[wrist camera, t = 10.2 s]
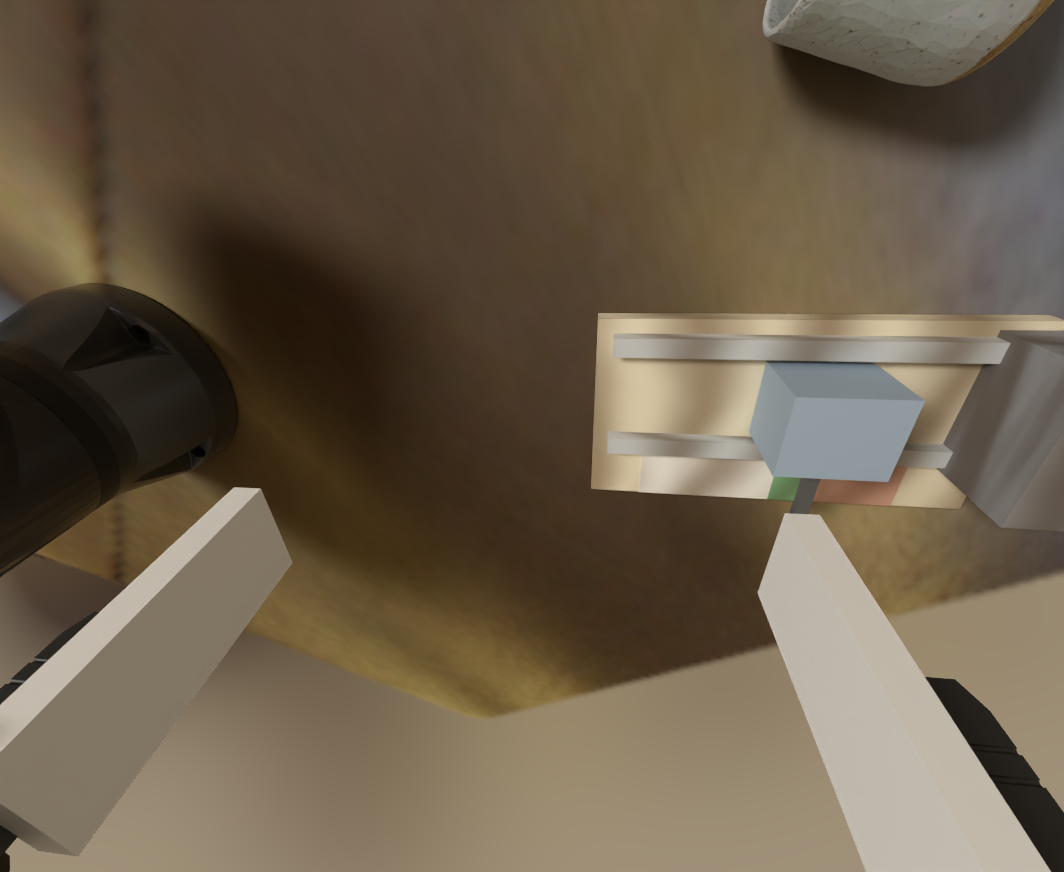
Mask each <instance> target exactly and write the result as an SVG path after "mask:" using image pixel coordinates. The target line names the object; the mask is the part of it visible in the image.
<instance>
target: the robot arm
mask: <svg viewBox="0 0 1064 872" xmlns="http://www.w3.org/2000/svg"><path fill="white" fill-rule="evenodd" d="M236 422H237V408H236V402H235V397H234V394H233V390H232V388H231V385H230V382H229V380H228V378H227V376H226V374H225V372H224V370H223V368H222V367H221V365H220V363H219V362H218V360H217V359H216V357H215V356H214V354H213V353H212V352H211V350H210V349H209V348H208V347H207V345H206V344H205V343H204V342H203V341H202V340H201V338H200V337H199V336H198V335H197V334H196V333H195V332H194V331H193V330H192V329H191V328H190V327H189V326H187V325H186V324H185V323H184V322H183V321H182V320H180V319H179V318H178V317H177V316H175V315H174V314H173V313H171V312H170V311H169V310H167V309H166V308H164V307H163V306H161V305H159V304H158V303H156V302H155V301H153V300H151V299H149V298H147V297H145V296H143V295H141V294H139V293H136V292H134V291H131V290H128V289H125V288H122V287H118V286H114V285H109V284H101V283H88V284H81V285H77V286H72V287H68V288H64V289H60V290H56V291H52V292H48V293H46V294H43V295H41V296H39V297H37V298H35V299H33V300H32V301H30V302H29V303H27V304H26V305H25V306H23V307H22V308H20V309H19V310H18V311H16V312H15V313H13V314H12V315H10V316H9V317H8V318H6V319H5V320H3V321H2V322H0V577H2V576H3V575H4V574H6V573H7V572H9V571H10V570H11V569H13V568H14V567H16V566H17V565H18V564H20V563H21V562H23V561H24V560H25V559H27V558H28V557H30V556H31V555H33V554H34V553H35V552H37V551H38V550H40V549H41V548H42V547H44V546H45V545H47V544H48V543H49V542H51V541H52V540H54V539H55V538H56V537H58V536H59V535H61V534H62V533H64V532H65V531H66V530H68V529H69V528H71V527H72V526H73V525H75V524H76V523H78V522H79V521H80V520H82V519H83V518H85V517H86V516H88V515H89V514H90V513H92V512H93V511H94V510H96V509H97V508H99V507H100V506H102V505H103V504H105V503H106V502H108V501H109V500H111V499H112V498H114V497H115V496H117V495H119V494H121V493H124V492H127V491H130V490H133V489H136V488H139V487H142V486H145V485H148V484H151V483H154V482H157V481H160V480H163V479H166V478H169V477H172V476H175V475H178V474H181V473H184V472H187V471H190V470H193V469H195V468H197V467H199V466H201V465H202V464H204V463H205V462H207V461H208V460H209V459H211V458H212V457H213V456H215V455H216V454H217V453H219V452H220V451H221V450H223V449H224V448H225V447H226V446H227V445H228V443H229V442H230V440H231V439H232V437H233V434H234V432H235V428H236ZM291 564H292V560H291V558H290V556H289V553H288V551H287V549H286V546H285V544H284V542H283V539H282V537H281V535H280V532H279V530H278V527H277V525H276V523H275V520H274V518H273V516H272V513H271V511H270V509H269V506H268V504H267V502H266V499H265V497H264V495H263V492H262V490H261V489H260V488H238V487H234V488H233V489H232V490H231V491H230V492H228V493H227V494H226V495H225V496H224V497H223V498H222V499H221V500H220V501H219V502H218V503H217V504H216V505H214V506H213V507H212V508H211V509H210V510H209V511H208V512H207V513H206V514H205V515H204V516H203V517H202V518H200V519H199V520H198V521H197V522H196V523H195V524H194V525H193V526H192V527H191V528H190V529H189V530H188V531H187V532H185V533H184V534H183V535H182V536H181V537H180V538H179V539H178V540H177V541H176V542H175V543H174V544H173V545H171V546H170V547H169V548H168V549H167V550H166V551H165V552H164V553H163V554H162V555H161V556H160V557H159V558H158V559H156V560H155V561H154V562H153V563H152V564H151V565H150V566H149V567H148V568H147V569H146V570H145V571H144V572H142V573H141V574H140V575H139V576H138V577H137V578H136V579H135V580H134V581H133V582H132V583H131V584H130V585H128V586H127V587H126V588H125V589H124V590H123V591H122V592H121V593H120V594H119V595H118V596H117V597H116V598H115V599H114V600H112V601H111V602H110V603H109V604H108V605H107V606H106V607H105V608H104V609H103V610H102V611H101V612H94V613H92V614H91V615H89V616H87V617H86V618H84V619H83V620H81V621H80V622H78V623H76V624H75V625H73V626H72V627H70V628H69V629H67V630H66V631H64V632H63V633H62V634H60V635H59V636H58V637H57V638H56V639H55V640H54V641H52V642H51V644H49V645H48V646H47V647H46V648H45V649H44V650H43V651H42V652H40V653H39V654H38V655H37V656H36V657H35V660H34V662H32V663H28V664H27V665H26V666H25V667H24V668H23V669H22V670H20V671H19V672H18V673H17V674H16V675H15V676H14V677H13V678H12V681H11V682H10V683H9V684H5V685H4V686H3V687H2V688H0V872H9V871H10V856H9V855H8V854H6V853H5V851H6V850H7V849H8V847H9V846H10V845H11V844H12V843H13V841H14V840H15V839H16V838H17V837H18V838H19V839H21V840H23V841H24V842H26V843H27V844H29V845H31V846H32V847H34V848H35V849H37V850H38V851H45V852H52V853H58V854H65V855H73V856H79V854H80V853H81V852H82V850H83V849H84V848H85V846H86V845H87V843H88V842H89V841H90V839H91V838H92V837H93V835H94V834H95V833H96V831H97V830H98V828H99V827H100V825H101V824H102V823H103V822H104V820H105V819H106V817H107V816H108V815H109V813H110V812H111V810H112V809H113V808H114V806H115V805H116V804H117V802H118V801H119V800H120V798H121V797H122V795H123V794H124V793H125V791H126V790H127V788H128V787H129V786H130V785H131V783H132V782H133V780H134V779H135V778H136V776H137V775H138V774H139V772H140V771H141V770H142V768H143V767H144V765H145V764H146V763H147V761H148V760H149V758H150V757H151V756H152V754H153V753H154V752H155V750H156V749H157V748H158V746H159V745H160V743H161V742H162V740H163V739H164V738H165V737H166V735H167V734H168V732H169V731H170V730H171V728H172V727H173V726H174V724H175V723H176V722H177V720H178V719H179V717H180V716H181V715H182V713H183V712H184V711H185V709H186V708H187V707H188V705H189V704H190V702H191V701H192V699H193V698H194V697H195V696H196V694H197V693H198V691H199V690H200V689H201V687H202V686H203V684H204V683H205V682H206V680H207V679H208V678H209V676H210V675H211V674H212V672H213V671H214V670H215V668H216V667H217V665H218V664H219V663H220V661H221V660H222V659H223V657H224V656H225V654H226V653H227V652H228V650H229V649H230V647H231V646H232V645H233V643H234V642H235V641H236V639H237V638H238V637H239V635H240V634H241V633H242V631H243V630H244V628H245V627H246V626H247V624H248V623H249V622H250V620H251V619H252V617H253V616H254V615H255V613H256V612H257V611H258V609H259V608H260V607H261V605H262V604H263V602H264V601H265V600H266V598H267V597H268V596H269V594H270V593H271V591H272V590H273V589H274V587H275V586H276V585H277V583H278V582H279V580H280V579H281V578H282V576H283V575H284V574H285V572H286V571H287V570H288V568H289V567H290V565H291ZM758 595H759V598H760V600H761V603H762V606H763V608H764V611H765V613H766V616H767V618H768V621H769V623H770V626H771V629H772V631H773V634H774V636H775V639H776V641H777V644H778V647H779V649H780V651H781V654H782V657H783V659H784V662H785V664H786V667H787V670H788V672H789V675H790V677H791V680H792V682H793V685H794V687H795V690H796V693H797V695H798V698H799V700H800V703H801V705H802V708H803V711H804V713H805V716H806V718H807V721H808V724H809V726H810V728H811V731H812V734H813V736H814V739H815V742H816V744H817V747H818V749H819V752H820V754H821V757H822V760H823V762H824V765H825V767H826V770H827V772H828V775H829V778H830V780H831V782H832V785H833V788H834V790H835V793H836V796H837V798H838V801H839V803H840V806H841V808H842V811H843V813H844V816H845V818H846V821H847V824H848V826H849V829H850V831H851V834H852V837H853V839H854V842H855V844H856V846H857V849H858V852H859V855H860V857H861V860H862V862H863V865H864V867H865V870H866V872H1064V812H1063V811H1062V810H1061V808H1060V807H1059V806H1058V804H1057V803H1056V801H1055V800H1054V799H1053V797H1052V796H1051V794H1050V793H1049V792H1048V790H1047V789H1046V788H1043V787H1042V786H1041V785H1040V783H1039V780H1040V779H1039V778H1038V777H1037V775H1036V774H1035V772H1034V771H1033V770H1032V768H1031V767H1030V766H1029V764H1028V763H1027V761H1026V760H1025V759H1024V757H1023V756H1022V755H1019V754H1018V753H1017V751H1016V749H1017V748H1016V746H1015V745H1014V744H1013V742H1012V741H1011V739H1010V738H1009V737H1008V735H1007V734H1006V732H1005V731H1004V730H1003V729H1002V727H1001V726H1000V724H999V723H998V721H997V720H996V719H995V717H994V716H993V715H992V713H991V712H990V711H989V710H988V709H987V708H986V707H985V706H984V705H983V704H982V703H980V702H979V701H978V700H977V699H976V698H975V697H974V696H973V695H972V694H970V693H969V692H968V691H967V690H966V689H965V688H964V687H963V686H961V685H960V684H959V683H958V682H957V681H956V680H955V679H943V678H930V677H924V675H923V674H922V672H921V671H920V669H919V667H918V666H917V664H916V663H915V661H914V660H913V658H912V656H911V655H910V654H909V652H908V650H907V649H906V647H905V646H904V644H903V643H902V641H901V640H900V638H899V636H898V635H897V633H896V632H895V630H894V629H893V627H892V626H891V624H890V623H889V621H888V619H887V618H886V616H885V615H884V613H883V612H882V610H881V609H880V607H879V606H878V604H877V603H876V601H875V599H874V598H873V596H872V595H871V593H870V592H869V590H868V589H867V587H866V586H865V584H864V582H863V581H862V579H861V578H860V576H859V575H858V573H857V572H856V570H855V569H854V567H853V565H852V564H851V562H850V561H849V559H848V558H847V556H846V555H845V553H844V552H843V550H842V549H841V547H840V545H839V544H838V542H837V541H836V539H835V538H834V536H833V535H832V533H831V532H830V530H829V528H828V527H827V525H826V524H825V522H824V521H823V519H822V518H821V516H820V515H811V514H790V513H785V515H784V517H783V520H782V523H781V526H780V529H779V532H778V535H777V538H776V541H775V544H774V547H773V549H772V552H771V555H770V558H769V561H768V564H767V567H766V570H765V573H764V576H763V579H762V581H761V584H760V587H759V590H758Z"/></svg>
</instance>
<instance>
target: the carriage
mask: <svg viewBox="0 0 1064 872" xmlns="http://www.w3.org/2000/svg"><path fill="white" fill-rule="evenodd" d="M924 403H925V400H924V399H922V398H921V397H920V396H918V395H917V394H915V393H914V392H913V391H911V390H910V389H909V388H907V387H906V386H905V385H903V384H902V383H901V382H899V381H898V380H897V379H895V378H894V377H893V376H891V375H890V374H889V373H887V372H886V371H885V370H883V369H882V368H881V367H879V366H878V365H876V364H875V363H853V362H794V361H766V365H765V369H764V373H763V377H762V381H761V385H760V389H759V393H758V397H757V401H756V406H755V410H754V414H753V418H752V422H751V426H750V430H749V433H750V435H751V437H752V439H753V440H754V442H755V444H756V446H757V448H758V450H759V452H760V454H761V455H762V457H763V459H764V461H765V463H766V465H767V467H768V468H769V470H770V472H771V474H772V476H773V477H794V478H801V480H800V483H799V486H798V489H797V492H796V495H795V498H794V501H793V504H792V507H791V510H790V514H808V513H809V510H810V508H811V505H812V502H813V499H814V497H815V494H816V491H817V488H818V486H819V483H820V480H821V479H835V480H855V481H876V482H888V481H889V479H890V477H891V475H892V473H893V470H894V468H895V466H896V464H897V462H898V459H899V457H900V455H901V453H902V451H903V448H904V446H905V444H906V442H907V440H908V438H909V435H910V433H911V431H912V429H913V427H914V424H915V422H916V420H917V418H918V416H919V413H920V411H921V409H922V407H923V405H924Z"/></svg>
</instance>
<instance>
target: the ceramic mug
mask: <svg viewBox="0 0 1064 872" xmlns="http://www.w3.org/2000/svg"><path fill="white" fill-rule="evenodd" d="M1054 1H1055V0H767V4H766V7H765V12H764V18H763V23H762V25H763V33H764V35H765V37H766V38H767V39H768V40H769V41H771V42H774V43H777V44H780V45H783V46H787V47H790V48H793V49H797V50H800V51H803V52H806V53H809V54H812V55H815V56H818V57H821V58H824V59H826V60H829V61H832V62H836V63H839V64H842V65H846V66H850V67H853V68H856V69H859V70H862V71H865V72H868V73H871V74H874V75H876V76H879V77H881V78H884V79H886V80H890V81H894V82H897V83H902V84H910V85H919V86H927V87H929V86H938V85H945V84H948V83H951V82H953V81H956V80H959V79H961V78H963V77H965V76H967V75H968V74H970V73H972V72H973V71H975V70H977V69H978V68H980V67H982V66H984V65H985V64H987V63H988V62H989V61H991V60H992V59H993V58H994V57H996V56H997V55H998V54H1000V53H1001V52H1002V51H1004V50H1005V49H1006V48H1007V47H1008V46H1010V45H1011V44H1012V43H1013V42H1014V41H1015V40H1017V39H1018V38H1019V37H1020V36H1021V35H1022V34H1023V33H1024V32H1025V31H1026V30H1027V29H1028V28H1029V27H1030V26H1031V25H1032V24H1033V23H1034V22H1035V21H1036V20H1037V19H1038V18H1039V17H1040V16H1041V15H1042V14H1043V13H1044V12H1045V11H1046V10H1047V8H1048V7H1049V6H1050V5H1051V4H1052V3H1053V2H1054Z"/></svg>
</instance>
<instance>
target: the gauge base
mask: <svg viewBox="0 0 1064 872" xmlns="http://www.w3.org/2000/svg"><path fill="white" fill-rule="evenodd" d="M1063 330H1064V320H1063V319H1060V318H1057V317H1054V316H1051V315H923V314H673V313H598V331H597V356H596V380H595V405H594V429H593V454H592V478H591V489H603V490H621V491H639V492H647V493H665V494H683V495H701V496H719V497H738V498H756V499H774V500H792V501H794V498H795V495H796V492H797V489H798V486H799V483H800V480H801V478H794V477H773V476H772V474H771V472H770V470H769V468H768V467H767V465H766V463H765V461H764V459H763V457H762V455H761V454H760V452H759V450H758V448H757V446H756V444H755V442H754V440H753V439H752V437H751V435H750V433H749V430H750V426H751V422H752V418H753V414H754V410H755V406H756V401H757V397H758V393H759V389H760V385H761V381H762V377H763V373H764V369H765V365H766V361H794V362H853V363H875V364H876V365H878V366H879V367H881V368H882V369H883V370H885V371H886V372H887V373H889V374H890V375H891V376H893V377H894V378H895V379H897V380H898V381H899V382H901V383H902V384H903V385H905V386H906V387H907V388H909V389H910V390H911V391H913V392H914V393H915V394H917V395H918V396H920V397H921V398H922V399H924V400H925V403H924V405H923V407H922V409H921V411H920V413H919V416H918V418H917V420H916V422H915V424H914V427H913V429H912V431H911V433H910V435H909V438H908V440H907V442H906V444H905V446H904V448H903V451H902V453H901V455H900V457H899V459H898V462H897V464H896V466H895V468H894V470H893V473H892V475H891V477H890V479H889V481H888V482H876V481H855V480H835V479H821V480H820V483H819V486H818V488H817V491H816V494H815V497H814V499H813V502H828V503H846V504H865V505H883V506H890V505H894V506H912V507H930V508H949V509H960V507H961V506H962V504H963V502H964V500H965V499H966V497H968V498H969V499H970V500H971V501H972V502H973V503H974V504H975V505H976V506H978V507H979V508H980V509H981V510H982V511H983V512H984V513H985V514H986V515H987V516H988V517H989V518H991V519H992V520H993V521H994V522H995V523H996V524H997V525H998V526H999V527H1000V528H1016V529H1033V530H1050V531H1064V331H1063Z"/></svg>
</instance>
